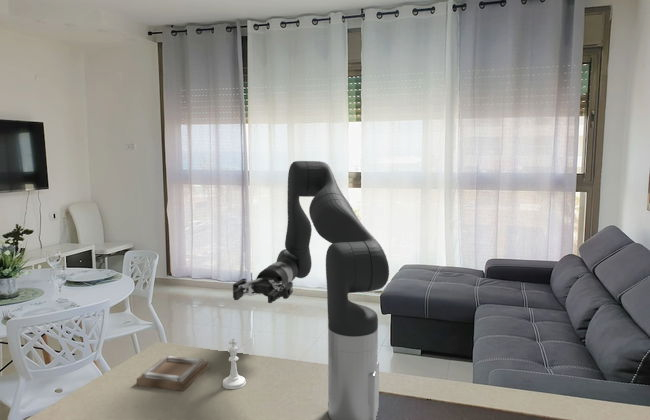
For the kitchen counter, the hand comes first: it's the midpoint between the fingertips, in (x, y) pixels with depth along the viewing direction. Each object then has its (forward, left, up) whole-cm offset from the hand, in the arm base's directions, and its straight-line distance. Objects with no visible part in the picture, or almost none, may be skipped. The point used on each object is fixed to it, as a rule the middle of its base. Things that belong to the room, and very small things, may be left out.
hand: (252, 297), depth 112 cm
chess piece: (0, +11, -16) cm, 19 cm away
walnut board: (+14, +11, -16) cm, 24 cm away
